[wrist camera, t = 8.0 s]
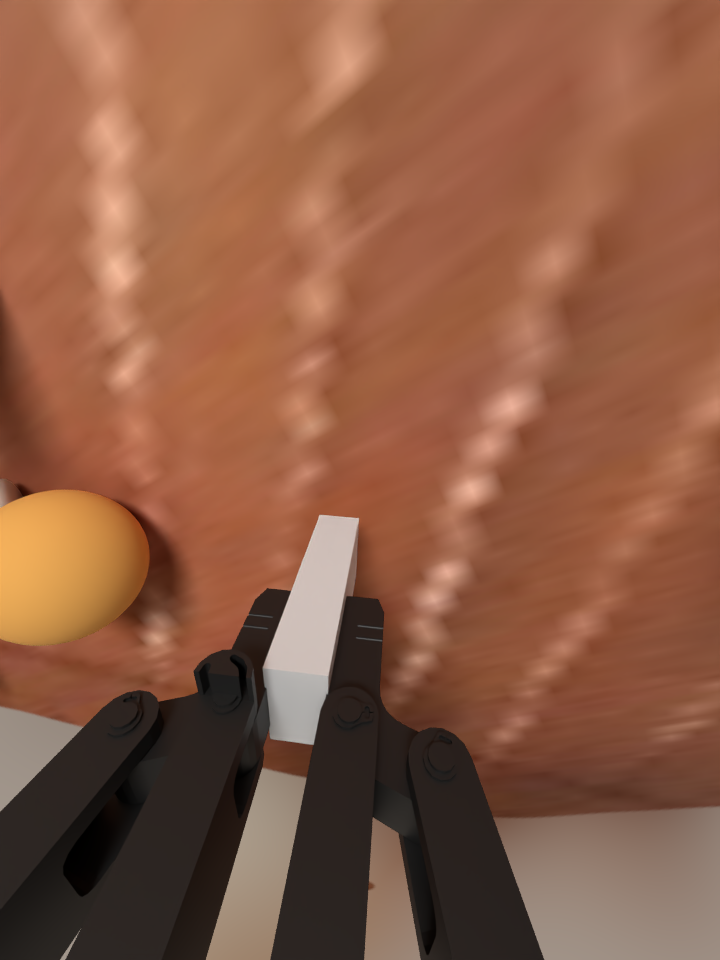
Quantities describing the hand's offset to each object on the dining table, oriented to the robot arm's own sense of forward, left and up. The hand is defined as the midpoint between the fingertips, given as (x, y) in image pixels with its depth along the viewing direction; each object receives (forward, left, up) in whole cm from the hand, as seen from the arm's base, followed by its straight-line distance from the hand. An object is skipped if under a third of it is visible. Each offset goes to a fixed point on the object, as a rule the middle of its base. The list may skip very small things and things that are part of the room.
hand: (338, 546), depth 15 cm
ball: (+1, -11, +1) cm, 11 cm away
